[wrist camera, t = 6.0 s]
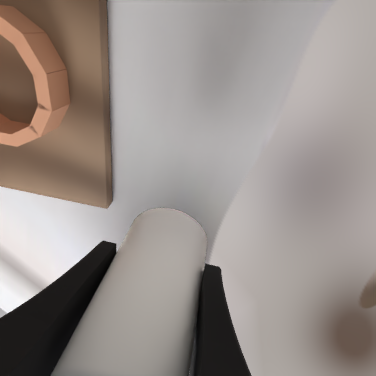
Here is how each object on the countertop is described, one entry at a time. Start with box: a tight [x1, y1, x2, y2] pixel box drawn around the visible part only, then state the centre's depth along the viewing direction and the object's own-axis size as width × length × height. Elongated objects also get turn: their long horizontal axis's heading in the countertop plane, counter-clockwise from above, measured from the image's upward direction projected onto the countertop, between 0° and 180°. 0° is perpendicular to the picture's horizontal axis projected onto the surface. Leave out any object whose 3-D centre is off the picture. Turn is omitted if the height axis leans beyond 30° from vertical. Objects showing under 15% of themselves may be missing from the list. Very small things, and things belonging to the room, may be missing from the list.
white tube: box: [51, 208, 207, 376], centre depth 11 cm, size 4×4×7 cm
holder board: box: [0, 0, 112, 209], centre depth 16 cm, size 18×12×3 cm, turn 172°
